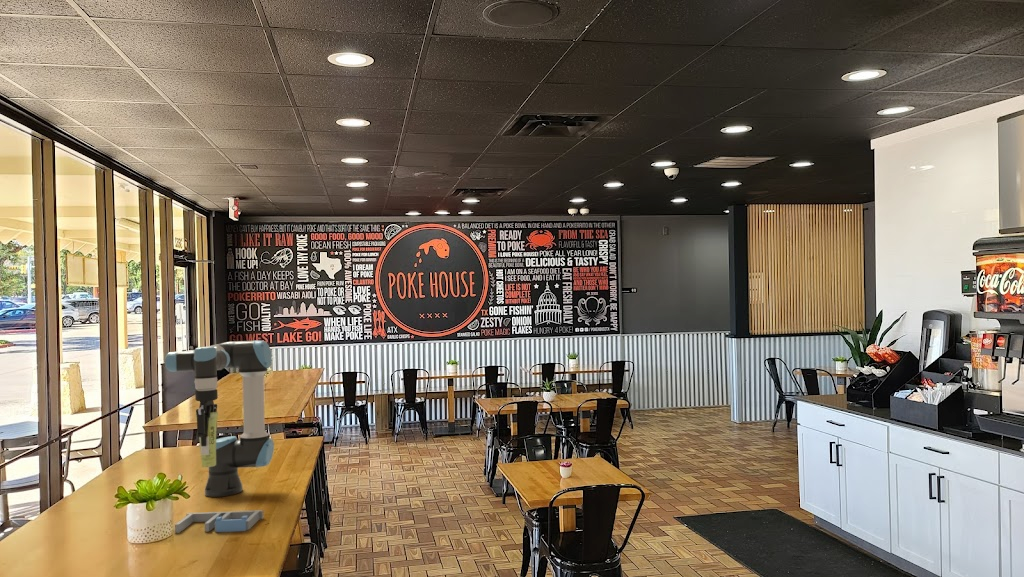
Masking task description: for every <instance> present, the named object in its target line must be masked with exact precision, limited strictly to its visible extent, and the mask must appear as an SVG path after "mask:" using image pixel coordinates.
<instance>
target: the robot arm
mask: <svg viewBox="0 0 1024 577" xmlns="http://www.w3.org/2000/svg"><path fill="white" fill-rule="evenodd" d="M272 361H273V355H272V351H271V348H270V346H269V343H267V341H265V340H257V339H256V340H255V339H254V340H239V341H238V340H236V341H235V340H234V341H231V340H230V341H226V342H221V343H218V344H212V345H210V346H201V347H200V346H199V347H196V348H195V349H191V350H184V351H169V352H167V354H166V355H165V358H164V366H165V369H166V370H167V371H168V372H169V373H170V372H171V373H172V372H175V373H179V372H194V380H193V383H194V385H195V386H194V387H195V389H196V390H195V392H194V393H195V394H194V397H195V398H194V399H195V401H196V402H199V407H198V408H196V409H195V415H196V414H197V419H196V428H197V429H196V430H197V432H196V433H197V438H199V437H200V438H201V450H200V456H201V455H209V437H207V436H208V421H209V418H210V413H212V412H218V403H214V401H216V400H218V396H219V395H218V389H217V388H218V372H217V371H222V370H224V369H238V373H239V375H240V376H241V377H242V406H243V410H242V411H243V414H242V415H243V416H242V417H243V432H242V434H240V436H239V438H240V439H238V438H237V436H235V435H233V436H225V437H220V438H216V465H215V466H212V467H208V478H207V481H206V484H205V487H204V496H206V497H210V498H211V497H212V498H218V497H220V498H221V497H228V496H229V497H230V496H233V495H237V494H240V493H241V492H243V483H242V480H241V478H240V475H239V472H238V471H239V470H238V469H239V468H262V467H263V468H264V467H267V466H268V465H270V463H271V461H272V459H273V455H274V451H275V450H274V449H275V444H274V440H273V439H272V438H270V437H269V435H270V434H269V433H268V432H267V431H266V428H265V427H266V423H265V381H264V378H265V374H266V373H267V372H268V368H270V367H271V365H272ZM205 415H207V416H205ZM216 434H218V428H217V429H216Z"/></svg>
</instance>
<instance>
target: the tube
mask: <svg viewBox="0 0 1024 577" xmlns="http://www.w3.org/2000/svg"><path fill="white" fill-rule="evenodd" d="M205 416H207V415H205ZM218 416H219V413H218V411H217V412H212V413H210V418H209V421H208V436H207V437H209V455H201V454H200V460H201V467H202V468H209V467H212V466H215V465H216V439H217V433H216V429H217V430H218ZM195 418H196V420H197V414H196V413H195ZM198 438H199V448H200V451H201V438H200V437H198Z"/></svg>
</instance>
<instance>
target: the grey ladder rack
mask: <svg viewBox="0 0 1024 577" xmlns="http://www.w3.org/2000/svg"><path fill="white" fill-rule="evenodd" d="M263 519H264V509H257V510H235V511H234V510H233V511H231V510H229V511H207V512H188V513H186V514H185V517H183V518H182V519H181V520H179V521H178V522H176V523H175V524H174V533H175V534H179V533H181V532H183V531H184V530H185V529H186V528H187V527H189V526H190V525H191V524H193V523H200V522H201V523H203V522H204V532H206V533H207V532H208V533H209V532H210V531H211V530H213V529H214V532H215V533H229V532H246V531H249V530H250V529H251V528H252V527H253V526H254V525H255V524H257V522H258V521H260V520H263Z"/></svg>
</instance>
